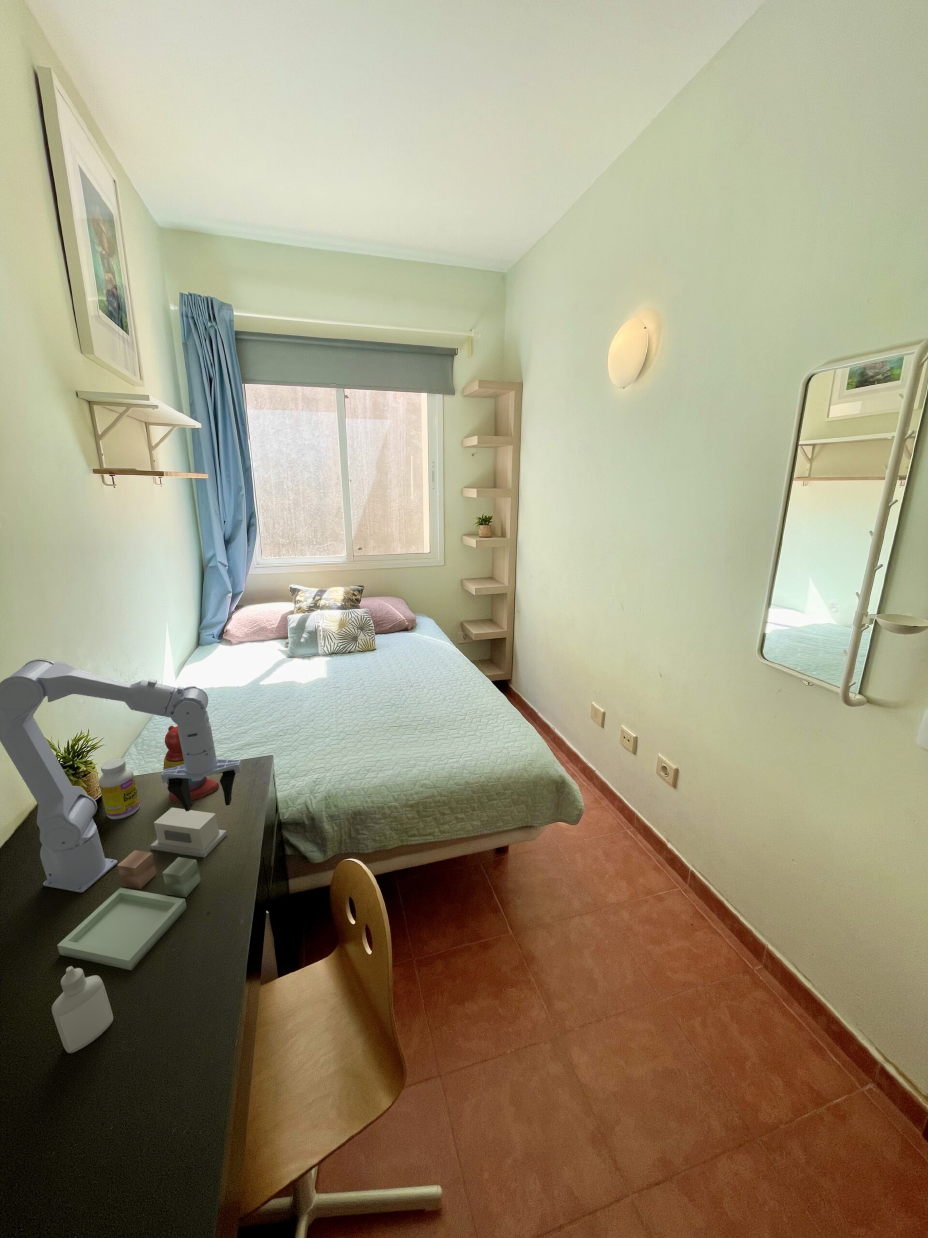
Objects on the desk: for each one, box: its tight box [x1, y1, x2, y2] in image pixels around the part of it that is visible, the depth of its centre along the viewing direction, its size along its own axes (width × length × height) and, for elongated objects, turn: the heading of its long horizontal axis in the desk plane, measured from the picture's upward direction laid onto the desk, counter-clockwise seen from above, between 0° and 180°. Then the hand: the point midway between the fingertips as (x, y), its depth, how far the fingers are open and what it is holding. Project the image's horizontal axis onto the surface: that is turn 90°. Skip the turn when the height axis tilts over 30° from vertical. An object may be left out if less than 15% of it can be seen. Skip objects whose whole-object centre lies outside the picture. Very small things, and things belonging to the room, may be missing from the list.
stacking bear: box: [162, 725, 220, 803], centre depth 121 cm, size 11×10×18 cm
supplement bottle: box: [98, 757, 141, 820], centre depth 114 cm, size 7×7×13 cm
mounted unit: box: [150, 807, 228, 858], centre depth 105 cm, size 13×7×6 cm, turn 78°
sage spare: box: [162, 856, 201, 899], centre depth 93 cm, size 4×4×5 cm
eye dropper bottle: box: [51, 965, 114, 1054], centre depth 68 cm, size 4×6×12 cm
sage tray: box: [57, 887, 187, 971], centre depth 85 cm, size 14×12×2 cm
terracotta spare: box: [116, 849, 158, 890], centre depth 95 cm, size 4×4×5 cm
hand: (209, 805), depth 103 cm, fingers open, 7 cm apart
